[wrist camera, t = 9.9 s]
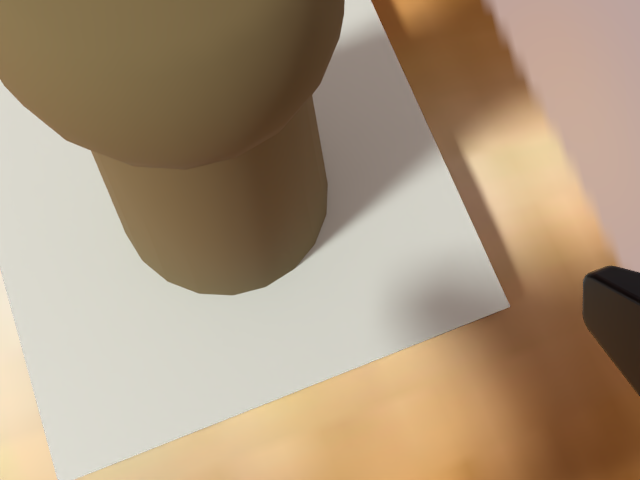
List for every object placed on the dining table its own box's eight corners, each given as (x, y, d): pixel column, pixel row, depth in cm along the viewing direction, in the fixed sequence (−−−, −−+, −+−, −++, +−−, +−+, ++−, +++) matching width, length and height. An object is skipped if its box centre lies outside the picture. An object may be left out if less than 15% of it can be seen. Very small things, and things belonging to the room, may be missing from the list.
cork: (316, 90, 19) (360, -312, 8) (340, 284, 17) (432, 107, 7) (115, 106, 18) (-123, -302, 7) (122, 306, 17) (-161, 154, 6)
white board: (498, 311, 18) (510, 306, 17) (72, 480, 16) (58, 485, 15) (290, -152, 22) (290, -177, 21) (-77, -57, 20) (-94, -79, 19)
